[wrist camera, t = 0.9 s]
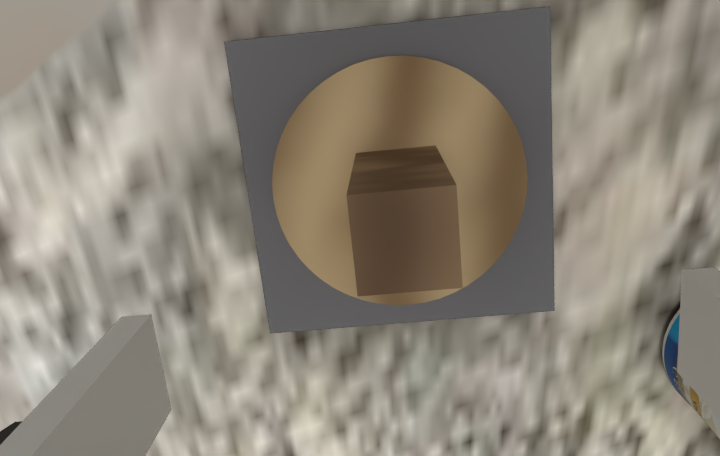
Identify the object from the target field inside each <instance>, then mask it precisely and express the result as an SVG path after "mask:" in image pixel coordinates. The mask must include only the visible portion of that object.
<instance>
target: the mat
mask: <svg viewBox="0 0 720 456" xmlns="http://www.w3.org/2000/svg"><path fill="white" fill-rule="evenodd" d="M224 44H225V50H226V57H227V63H228V69H229V76H230V82H231V88H232V95H233V101H234V107H235V114H236V120H237V126H238V133H239V139H240V145H241V152H242V158H243V164H244V171H245V177H246V183H247V190H248V196H249V202H250V209H251V215H252V221H253V228H254V234H255V240H256V247H257V253H258V259H259V266H260V272H261V278H262V285H263V291H264V297H265V304H266V310H267V316H268V323H269V329H270V333H281V332H294V331H306V330H319V329H331V328H344V327H356V326H369V325H382V324H394V323H407V322H419V321H432V320H444V319H457V318H469V317H482V316H495V315H507V314H520V313H532V312H545V311H554V246H553V177H552V107H551V38H550V7H540V8H531V9H522V10H513V11H504V12H494V13H485V14H476V15H467V16H458V17H448V18H439V19H430V20H421V21H412V22H402V23H393V24H384V25H375V26H365V27H356V28H347V29H338V30H329V31H319V32H310V33H301V34H292V35H283V36H273V37H264V38H255V39H246V40H237V41H227V42H224ZM403 55H405V56H415V57H423V58H427V59H432V60H436V61H439V62H442V63H445V64H447V65H450V66H452V67H455V68H457V69H459V70H461V71H463V72H464V73H466V74H468V75H470V76H471V77H473V78H474V79H475V80H477V81H478V82H479V83H481V84H482V85H483V86H485V87H486V88H487V89H488V90H489V91H490V92H491V93H492V94H493V95H494V96H495V97H496V98H497V99H498V100H499V102H500V103H501V104H502V106H503V107H504V108H505V110H506V111H507V112H508V114H509V116H510V118H511V119H512V121H513V123H514V125H515V127H516V129H517V131H518V134H519V136H520V139H521V142H522V145H523V149H524V153H525V158H526V165H527V194H526V200H525V206H524V210H523V213H522V216H521V219H520V223H519V225H518V227H517V229H516V232H515V234H514V236H513V238H512V240H511V241H510V243H509V244H508V246H507V248H506V249H505V251H504V252H503V253H502V255H501V256H500V257H499V258H498V259H497V261H496V262H495V263H494V264H493V265H492V266H491V267H490V268H489V269H488V270H487V271H486V272H485V273H484V274H483V275H482V276H480V277H479V278H477V279H476V280H475V281H473V282H472V283H471V284H469V285H467V286H466V287H464V288H462V289H460V290H458V291H457V292H455V293H452V294H450V295H447V296H445V297H442V298H440V299H436V300H433V301H429V302H425V303H418V304H411V305H387V304H377V303H373V302H368V301H364V300H360V299H358V298H355V297H352V296H349V295H347V294H345V293H343V292H341V291H339V290H337V289H335V288H333V287H332V286H330V285H329V284H327V283H326V282H324V281H323V280H321V279H320V278H319V277H317V276H316V275H315V274H314V273H313V272H312V271H311V270H309V269H308V268H307V266H306V265H305V264H304V263H303V262H302V261H301V260H300V259H299V258H298V256H297V255H296V253H295V252H294V250H293V249H292V247H291V246H290V245H289V243H288V241H287V239H286V237H285V235H284V233H283V231H282V228H281V226H280V223H279V220H278V217H277V214H276V209H275V205H274V200H273V188H272V176H273V165H274V159H275V154H276V150H277V147H278V144H279V141H280V138H281V135H282V133H283V131H284V129H285V127H286V125H287V123H288V121H289V119H290V118H291V116H292V115H293V113H294V112H295V110H296V109H297V107H298V106H299V105H300V103H301V102H302V101H303V100H304V99H305V98H306V97H307V96H308V94H309V93H310V92H312V91H313V90H314V89H315V88H316V87H317V86H319V85H320V84H321V83H322V82H323V81H325V80H326V79H328V78H329V77H331V76H333V75H334V74H336V73H337V72H339V71H341V70H343V69H345V68H347V67H349V66H351V65H353V64H356V63H359V62H363V61H366V60H369V59H373V58H379V57H385V56H403Z"/></svg>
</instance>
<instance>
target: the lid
mask: <svg viewBox="0 0 720 456" xmlns="http://www.w3.org/2000/svg"><path fill="white" fill-rule="evenodd" d="M272 188H273V200H274V205H275V209H276V214H277V217H278V220H279V223H280V226H281V228H282V231H283V233H284V235H285V237H286V239H287V241H288V243H289V245H290V246H291V247H292V249H293V250H294V252H295V253H296V255H297V256H298V258H299V259H300V260H301V261H302V262H303V263H304V264H305V265H306V266H307V268H308V269H309V270H311V271H312V272H313V273H314V274H315V275H316V276H317V277H319V278H320V279H321V280H323V281H324V282H326V283H327V284H329V285H330V286H332V287H333V288H335V289H337V290H339V291H341V292H343V293H345V294H347V295H349V296H352V297H355V298H358V299H360V300H364V301H368V302H373V303H377V304H387V305H411V304H418V303H425V302H429V301H433V300H436V299H440V298H442V297H445V296H447V295H450V294H452V293H455V292H457V291H458V290H460V289H462V288H464V287H466V286H467V285H469V284H471V283H472V282H473V281H475V280H476V279H477V278H479V277H480V276H482V275H483V274H484V273H485V272H486V271H487V270H488V269H489V268H490V267H491V266H492V265H493V264H494V263H495V262H496V261H497V259H498V258H499V257H500V256H501V255H502V253H503V252H504V251H505V249H506V248H507V246H508V244H509V243H510V241H511V240H512V238H513V236H514V234H515V232H516V229H517V227H518V225H519V223H520V219H521V216H522V213H523V210H524V206H525V200H526V194H527V165H526V158H525V153H524V149H523V145H522V142H521V139H520V136H519V134H518V131H517V129H516V127H515V125H514V123H513V121H512V119H511V118H510V116H509V114H508V112H507V111H506V110H505V108H504V107H503V106H502V104H501V103H500V102H499V100H498V99H497V98H496V97H495V96H494V95H493V94H492V93H491V92H490V91H489V90H488V89H487V88H486V87H485V86H483V85H482V84H481V83H479V82H478V81H477V80H475V79H474V78H473V77H471V76H470V75H468V74H466V73H464V72H463V71H461V70H459V69H457V68H455V67H452V66H450V65H447V64H445V63H442V62H439V61H436V60H432V59H427V58H423V57H415V56H405V55H403V56H385V57H379V58H373V59H369V60H366V61H363V62H359V63H356V64H353V65H351V66H349V67H347V68H345V69H343V70H341V71H339V72H337V73H336V74H334V75H333V76H331V77H329V78H328V79H326V80H325V81H323V82H322V83H321V84H320V85H319V86H317V87H316V88H315V89H314V90H313V91H312V92H310V93H309V94H308V96H307V97H306V98H305V99H304V100H303V101H302V102H301V103H300V105H299V106H298V107H297V109H296V110H295V112H294V113H293V115H292V116H291V118H290V119H289V121H288V123H287V125H286V127H285V129H284V131H283V133H282V135H281V138H280V141H279V144H278V147H277V150H276V154H275V159H274V165H273V176H272Z"/></svg>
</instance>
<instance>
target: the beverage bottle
mask: <svg viewBox="0 0 720 456" xmlns="http://www.w3.org/2000/svg"><path fill="white" fill-rule="evenodd" d="M679 321H680V309H679V310H678V311H677V313H676V314H675V315H674V317H673V318H672V320H671V322H670V324H669V326H668V328H667V331H666V333H665V337H664V341H663V348H662V356H663V364H664V368H665V371H666V374H667V376H668V378H669V380H670V382H671V383H672V385H673V386H674V388H675V389H676V390H677V391H678V392H679V394H680V395H681V396H682V397H683V398H684V399H685V400H686V401H687V402H688V403H689V404H690V405H691V406H692V407H693V408H694V409H695V410H696V411H697V413H698V414H699V415H700V416H701V417H702V419H703V420H704V421H705V422H706V423H707V424H708V426H709V427H710V428H711V429H712V430H713V432H714V433H715V434H716V435H717V436H718V438H719V439H720V418H719V417H718V416H717V415H716V414H715V413H714V411H713V410H712V409H711V408H710V407H709V406H708V405H707V404H706V403H705V402H704V401H703V399H702V398H701V397H700V396H699V395H698V394H697V393H696V392H695V391H694V390H693V389H692V388H691V386H690V385H689V384H688V383H687V382H686V381H685V380H684V379H683V378H682V377H681V376H680V374H679V373H678V372H677V364H678V343H679Z"/></svg>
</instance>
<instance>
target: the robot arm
mask: <svg viewBox="0 0 720 456" xmlns="http://www.w3.org/2000/svg"><path fill="white" fill-rule="evenodd" d="M677 372H678V373H679V374H680V376H681V377H682V378H683V379H684V380H685V381H686V382H687V383H688V384H689V385H690V386H691V388H692V389H693V390H694V391H695V392H696V393H697V394H698V395H699V396H700V397H701V398H702V399H703V401H704V402H705V403H706V404H707V405H708V406H709V407H710V408H711V409H712V410H713V411H714V413H715V414H716V415H717V416H718V417H719V418H720V271H719V270H718V269H716V268H715V267H714V268H702V269H690V270H682V278H681V300H680V321H679V343H678V364H677ZM170 411H171V405H170V401H169V396H168V391H167V386H166V382H165V377H164V372H163V368H162V363H161V358H160V353H159V349H158V344H157V339H156V335H155V330H154V325H153V320H152V316H151V314H149V315H137V316H125V317H121V318H120V319H119V320H118V321H117V322H116V323H115V324H114V326H113V327H112V328H111V329H110V330H109V331H108V332H107V333H106V334H105V335H104V336H103V337H102V338H101V339H100V340H99V341H98V342H97V343H96V345H95V346H94V347H93V348H92V349H91V350H90V351H89V352H88V353H87V354H86V355H85V356H84V357H83V358H82V359H81V360H80V361H79V362H78V363H77V365H76V366H75V367H74V368H73V369H72V370H71V371H70V372H69V373H68V374H67V375H66V376H65V377H64V378H63V379H62V380H61V381H60V382H59V384H58V385H57V386H56V387H55V388H54V389H53V390H52V391H51V392H50V393H49V394H48V395H47V396H46V397H45V398H44V399H43V400H42V401H41V402H40V404H39V405H38V406H37V407H36V408H35V409H34V410H33V411H32V412H31V413H30V414H29V415H28V416H27V417H26V418H25V419H24V420H23V421H22V422H14V423H13V424H11V425H10V426H8V427H7V428H5V429H4V430H2V431H0V456H145V455H146V453H147V452H148V450H149V448H150V446H151V445H152V443H153V441H154V439H155V438H156V436H157V434H158V432H159V431H160V429H161V427H162V425H163V423H164V422H165V420H166V418H167V416H168V415H169V413H170Z"/></svg>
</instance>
